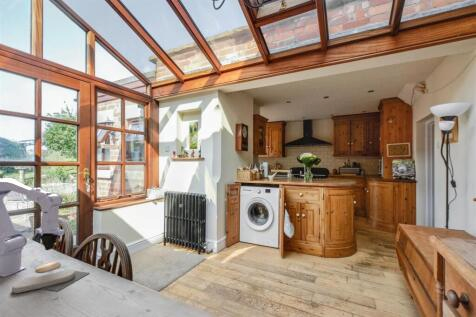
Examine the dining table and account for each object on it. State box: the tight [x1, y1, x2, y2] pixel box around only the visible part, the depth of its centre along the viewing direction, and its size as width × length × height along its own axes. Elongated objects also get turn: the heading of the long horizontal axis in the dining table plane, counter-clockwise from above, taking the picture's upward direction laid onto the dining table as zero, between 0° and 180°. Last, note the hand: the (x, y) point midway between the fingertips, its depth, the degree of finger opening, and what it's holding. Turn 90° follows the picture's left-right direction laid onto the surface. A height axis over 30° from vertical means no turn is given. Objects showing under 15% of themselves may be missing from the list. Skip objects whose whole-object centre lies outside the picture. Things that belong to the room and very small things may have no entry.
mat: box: [37, 270, 90, 292], centre depth 89 cm, size 12×14×1 cm
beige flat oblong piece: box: [11, 268, 76, 294], centre depth 86 cm, size 20×2×8 cm
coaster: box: [34, 261, 61, 273], centre depth 99 cm, size 9×9×1 cm
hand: (48, 249), depth 96 cm, fingers closed
